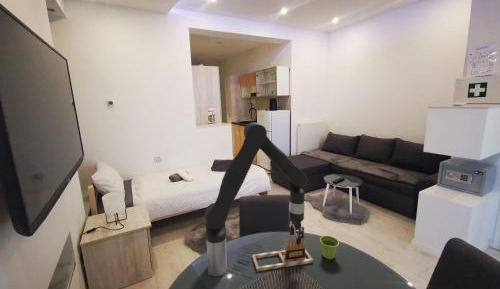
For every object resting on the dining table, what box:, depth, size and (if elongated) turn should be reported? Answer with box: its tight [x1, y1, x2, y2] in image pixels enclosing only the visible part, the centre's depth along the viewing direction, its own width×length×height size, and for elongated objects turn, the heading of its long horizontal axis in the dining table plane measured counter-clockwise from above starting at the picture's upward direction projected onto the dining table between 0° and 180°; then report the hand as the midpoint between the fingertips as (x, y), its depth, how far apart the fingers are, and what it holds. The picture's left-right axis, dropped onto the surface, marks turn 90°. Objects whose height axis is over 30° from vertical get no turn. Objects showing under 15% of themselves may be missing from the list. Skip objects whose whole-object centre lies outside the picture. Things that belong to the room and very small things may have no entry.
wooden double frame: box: [251, 248, 314, 272], centre depth 119 cm, size 29×10×2 cm, turn 102°
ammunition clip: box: [284, 236, 306, 260], centre depth 120 cm, size 11×2×12 cm, turn 102°
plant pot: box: [319, 235, 340, 260], centre depth 122 cm, size 9×9×9 cm
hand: (295, 239), depth 119 cm, fingers open, 8 cm apart
